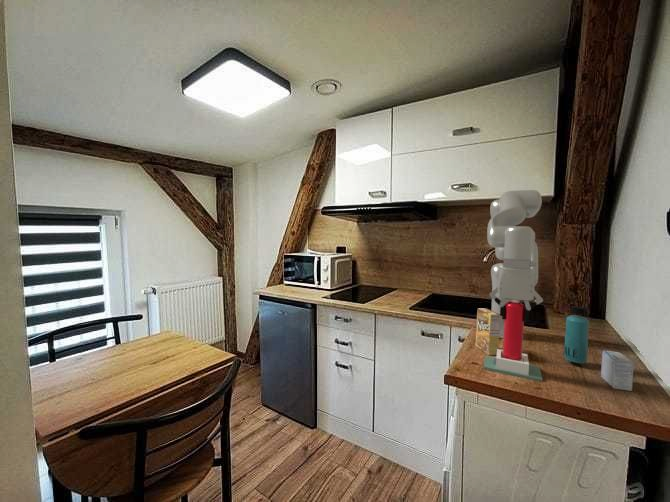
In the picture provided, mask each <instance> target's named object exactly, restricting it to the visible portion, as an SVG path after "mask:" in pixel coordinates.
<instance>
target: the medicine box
mask: <svg viewBox="0 0 670 502" xmlns="http://www.w3.org/2000/svg"><path fill="white" fill-rule="evenodd" d="M634 365H635V364H634V362H633V361H632V360H631V359H630V358H628V357H627V356H625V355H624V354H623V353H621V352H617V351H611V350H602V353H601V368H600V377H601V378H602V379H603V380H604V381H605V382H606V383H608V385H610V387H612V389H614V390H621V391H628V392H631V391H633V380H634V378H633V377H634Z"/></svg>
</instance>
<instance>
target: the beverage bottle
mask: <svg viewBox="0 0 670 502" xmlns="http://www.w3.org/2000/svg"><path fill="white" fill-rule="evenodd" d="M570 313H571V314H570V315H569V316H567V317H566V318H565V320H566V321H565V329H564V341H563V342H564V345H563V357H564V359H565V360H567V361H569V362H572V363H575V364H576V363H577V364H586V363H587V360H588V350H589V349H588V348H589V327H590V320H589V319H588V318H586V317H585V316H583V315H587V313H586V308H585V307H583V306H577V305H572V306H570Z"/></svg>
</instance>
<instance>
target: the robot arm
mask: <svg viewBox="0 0 670 502" xmlns="http://www.w3.org/2000/svg"><path fill="white" fill-rule="evenodd" d="M542 200H543V199H542V196H541V193H540V192H539V191H538V190H534V189H526V190H525V189H524V190H509V191H505V192H504V193H502V194H501V195H500V196H499V199H495V200H493V201H492V202H491V203H490V207H489V211H490V212H489V213H490V217H491V218H490V219H489V222H488V223H487V229H486V230H487V231H486V239H487V243H488V245H489V246H490V247H492V248H494V250H495V251H494V252H495V254H494V255H495V257H496V259H498V260H501V261H503V262H498V263H495V264H493V265H492V266H491V269H490V277H491V288H492V289H491V292H490V293H489V297H490V298H491V309H490V310H491V311H493V312H496V313H498V314H500V316H501V317H500V333H499V339H500V338H501V339H503V337H504V319H505V304H506V303H507V302H509V301H510V299H511V300H520V302H522V301H523V302H524V307H525V309H524V323H527V321H528V320H530V311H531V310H532V309H533V308H535V307H536V306H537V305H539V304H541V303H542V302H544V299H543V297H541V295H540V294H539V293H538V292H537V290H535V286H536V285H537V284H538V280H539V248H538V245H537V243H536V233H535V231H534V230H533V228H532V227H530V226H526V225H524V226H523V225H520V224H521V223H522V222H524V221H525V219H528V218H534V217H535V216H536V215H537V214H538V212H539V211H540V210H541V207H542V204H543V201H542ZM518 225H520V226H518ZM534 298H535V300H534Z"/></svg>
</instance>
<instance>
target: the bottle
mask: <svg viewBox="0 0 670 502" xmlns="http://www.w3.org/2000/svg"><path fill="white" fill-rule="evenodd" d="M525 307H526V306H525V304H523V303H522V302H521V301H520V300H511V299H510V301H509V302H507V303H506V304H505V319H504V337H503V338H502V339H503V341H502V350H503V356H504V357H506V358H508V359H512V360H521V359H522V353H523V345H524V344H523V342H524V326H525V325H524V323H525V322H524V309H525Z"/></svg>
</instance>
